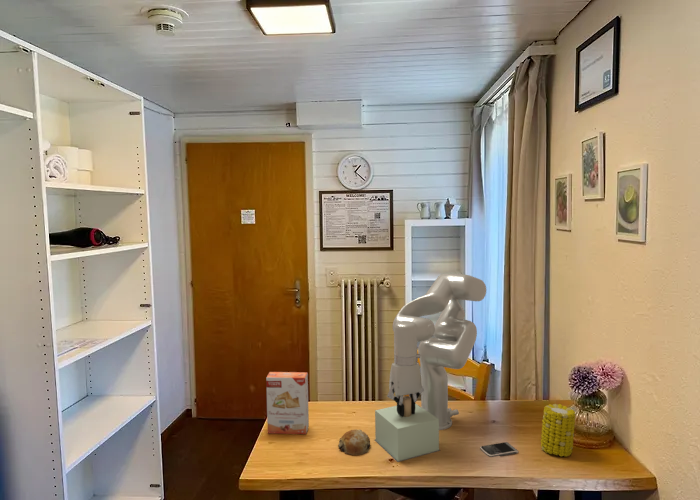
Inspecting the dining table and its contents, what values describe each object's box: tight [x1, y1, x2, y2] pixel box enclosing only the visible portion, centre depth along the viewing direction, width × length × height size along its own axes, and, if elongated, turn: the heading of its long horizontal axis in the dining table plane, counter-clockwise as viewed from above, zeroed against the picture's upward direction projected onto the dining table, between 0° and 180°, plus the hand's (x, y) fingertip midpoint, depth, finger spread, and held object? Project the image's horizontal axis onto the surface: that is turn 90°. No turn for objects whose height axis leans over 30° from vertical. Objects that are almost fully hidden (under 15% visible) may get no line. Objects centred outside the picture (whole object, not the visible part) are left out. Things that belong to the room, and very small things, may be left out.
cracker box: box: [265, 371, 310, 435], centre depth 169 cm, size 14×6×21 cm, turn 86°
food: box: [540, 403, 576, 458], centre depth 152 cm, size 15×12×10 cm
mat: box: [374, 439, 441, 463], centre depth 157 cm, size 16×16×1 cm
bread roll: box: [337, 429, 371, 456], centre depth 156 cm, size 10×10×8 cm
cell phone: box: [479, 441, 519, 458], centre depth 153 cm, size 6×11×1 cm, turn 106°
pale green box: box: [374, 395, 440, 462], centre depth 157 cm, size 15×15×16 cm
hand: (406, 413), depth 156 cm, fingers closed on pale green box, 3 cm apart
